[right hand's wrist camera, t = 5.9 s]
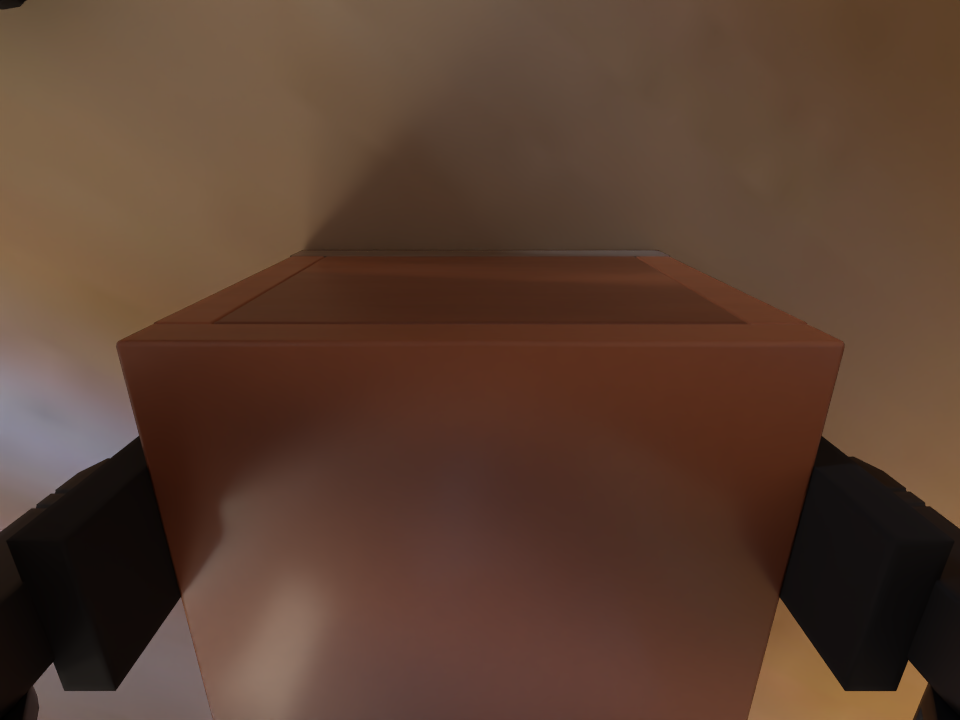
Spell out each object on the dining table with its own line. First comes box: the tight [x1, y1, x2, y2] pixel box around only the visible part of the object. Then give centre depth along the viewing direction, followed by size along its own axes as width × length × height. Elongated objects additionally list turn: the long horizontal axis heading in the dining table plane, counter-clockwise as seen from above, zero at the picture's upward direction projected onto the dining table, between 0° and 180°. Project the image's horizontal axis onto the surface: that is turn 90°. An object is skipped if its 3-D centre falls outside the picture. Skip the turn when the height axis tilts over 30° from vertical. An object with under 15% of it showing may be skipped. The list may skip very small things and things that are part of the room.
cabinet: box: [116, 250, 844, 720], centre depth 15 cm, size 20×11×9 cm, turn 0°
